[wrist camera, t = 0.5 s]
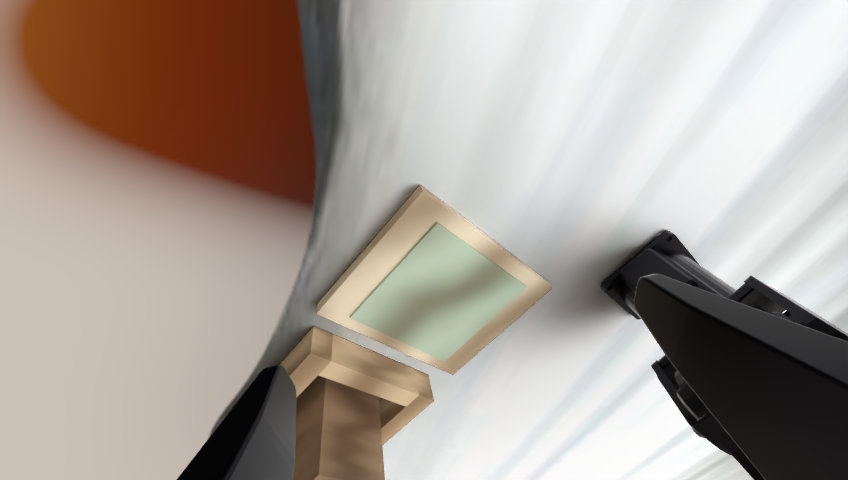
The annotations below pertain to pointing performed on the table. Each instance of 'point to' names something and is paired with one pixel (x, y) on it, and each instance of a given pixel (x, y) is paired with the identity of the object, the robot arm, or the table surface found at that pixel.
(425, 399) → the pocket
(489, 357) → the table surface
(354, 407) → the block
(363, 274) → the pad
